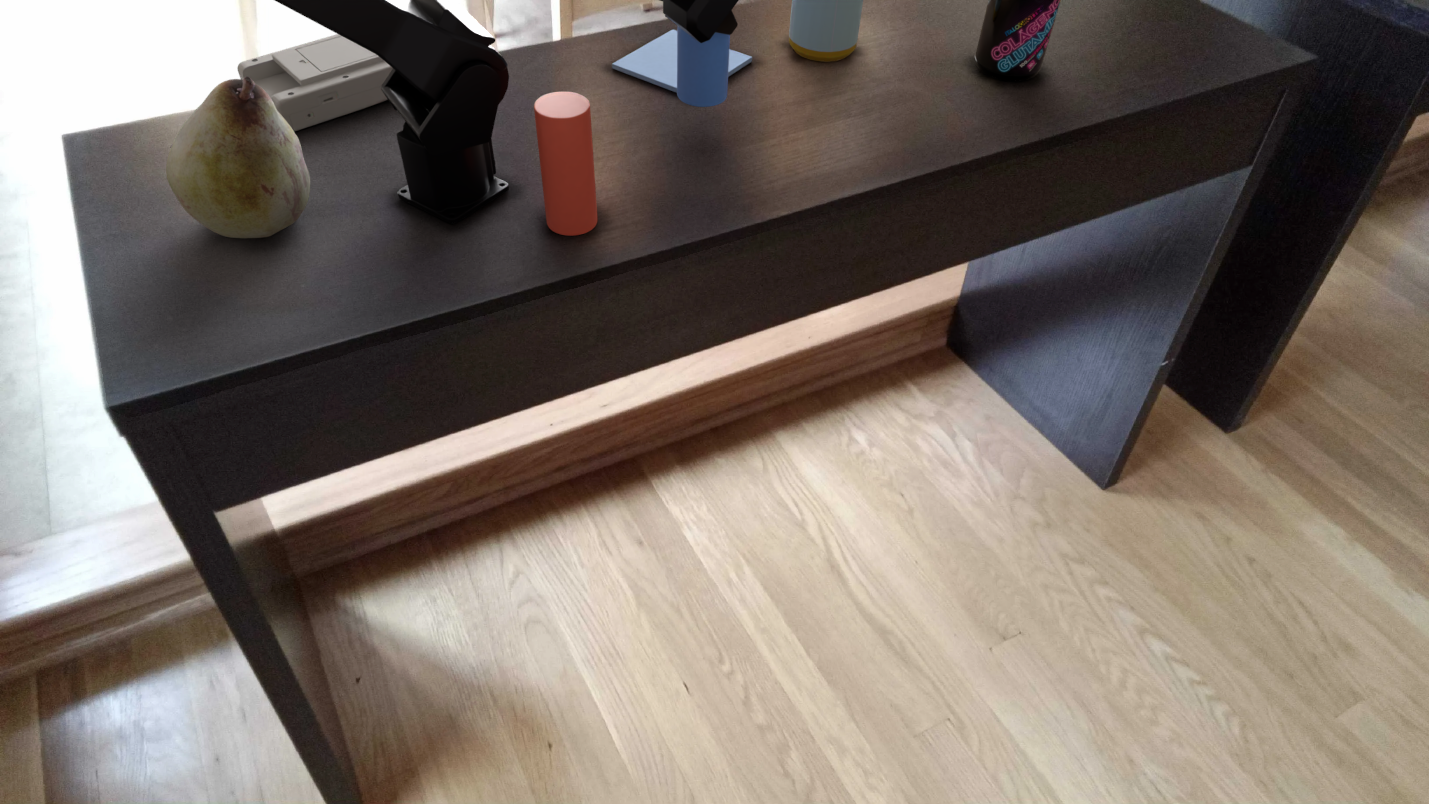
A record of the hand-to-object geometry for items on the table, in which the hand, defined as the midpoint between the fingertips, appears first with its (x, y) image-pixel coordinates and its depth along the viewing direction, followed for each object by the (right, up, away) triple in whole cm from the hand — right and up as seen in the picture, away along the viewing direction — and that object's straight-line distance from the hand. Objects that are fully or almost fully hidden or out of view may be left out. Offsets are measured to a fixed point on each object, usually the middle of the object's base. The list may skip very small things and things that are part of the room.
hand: (717, 18), depth 81 cm
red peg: (-12, -18, -6) cm, 22 cm away
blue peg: (-1, -5, +4) cm, 7 cm away
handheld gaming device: (-29, +2, +9) cm, 31 cm away
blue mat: (-3, +1, +14) cm, 14 cm away
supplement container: (+29, +1, +16) cm, 33 cm away
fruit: (-36, -19, -7) cm, 41 cm away
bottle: (+11, +4, +18) cm, 21 cm away
